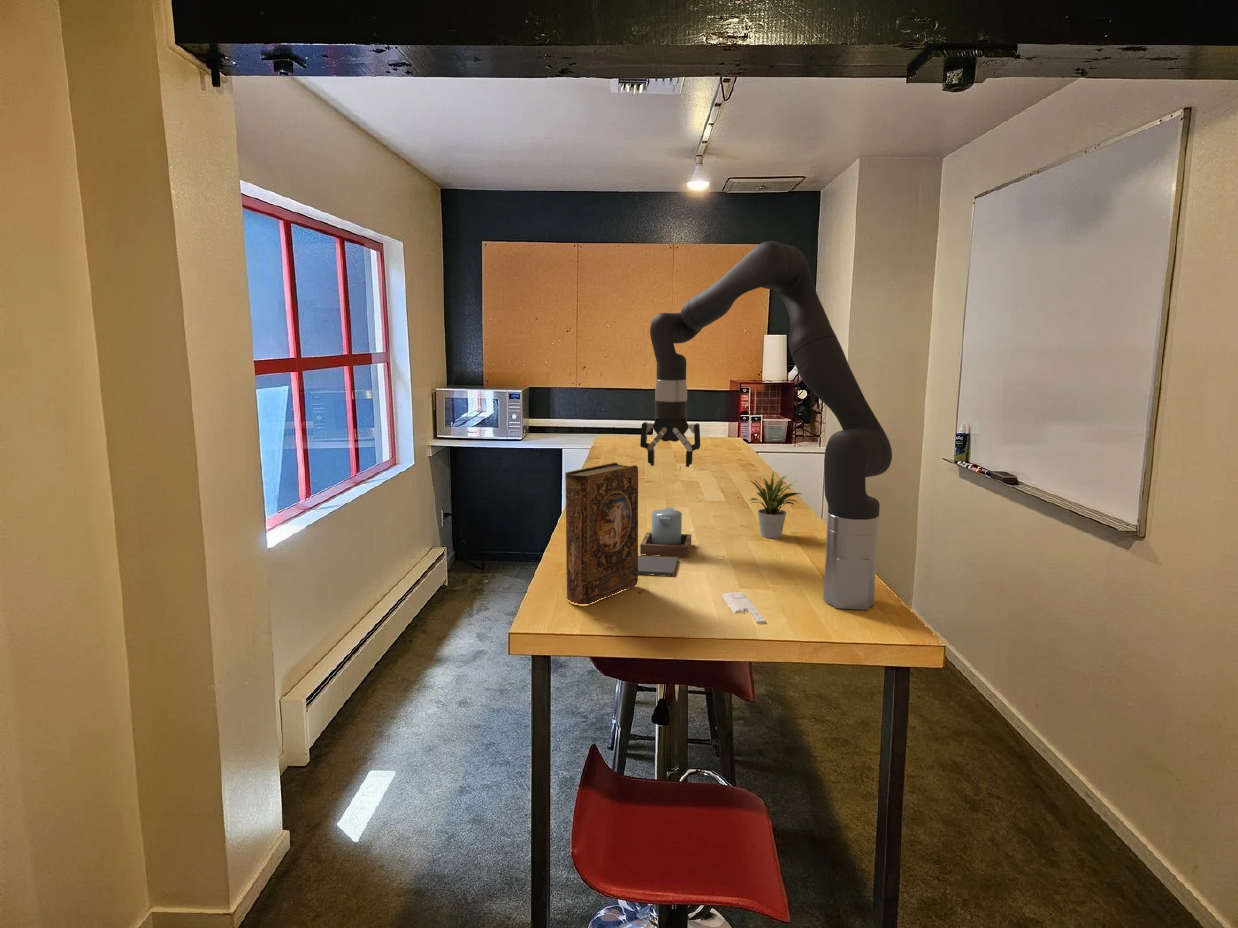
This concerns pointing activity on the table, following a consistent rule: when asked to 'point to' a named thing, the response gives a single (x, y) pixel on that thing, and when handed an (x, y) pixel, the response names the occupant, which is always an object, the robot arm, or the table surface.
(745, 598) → the white plastic strip tool
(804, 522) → the table surface
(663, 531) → the jug
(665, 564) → the mat
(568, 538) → the book
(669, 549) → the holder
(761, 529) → the house plant
